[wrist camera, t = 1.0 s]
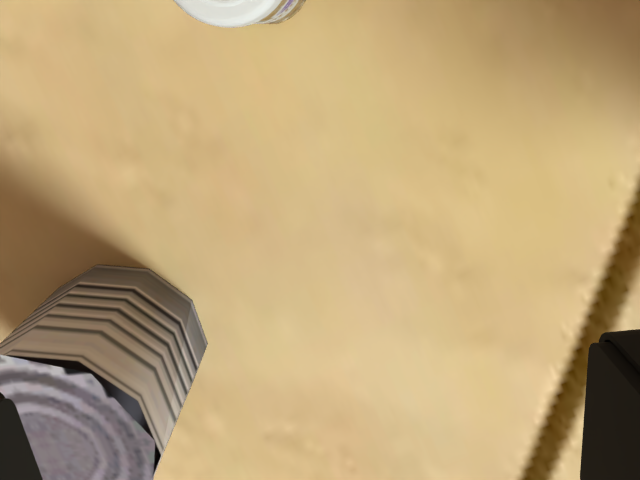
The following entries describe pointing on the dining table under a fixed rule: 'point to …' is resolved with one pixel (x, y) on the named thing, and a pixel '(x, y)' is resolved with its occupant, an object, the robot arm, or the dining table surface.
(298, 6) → the sprinkles bottle
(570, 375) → the dining table surface
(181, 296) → the can
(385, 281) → the dining table surface
